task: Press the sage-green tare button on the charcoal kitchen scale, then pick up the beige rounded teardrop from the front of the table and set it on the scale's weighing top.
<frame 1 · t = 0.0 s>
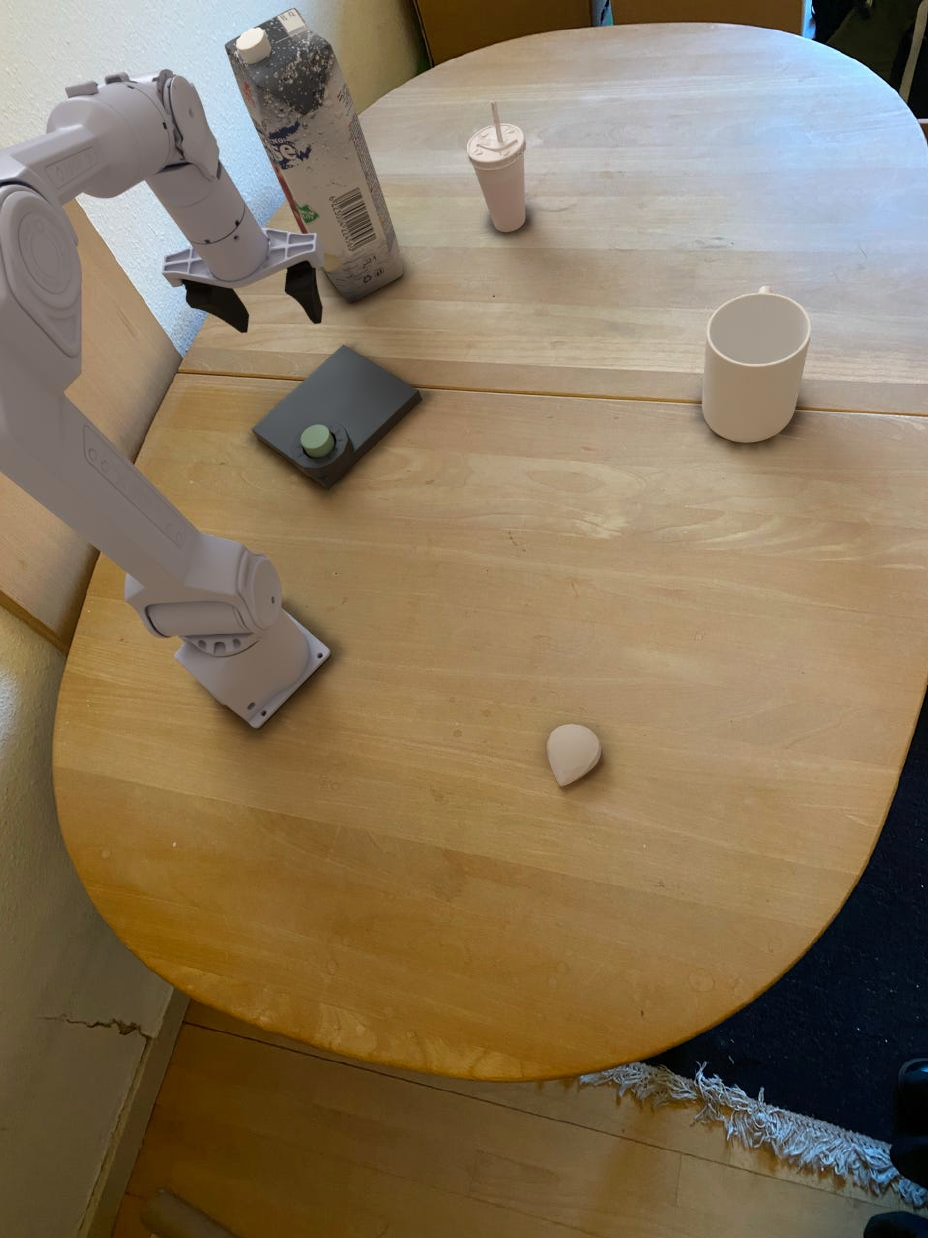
hand: (281, 319, 81), 11 cm above the table, tool pointing down, fingers open, 7 cm apart
beige rounded teardrop: (573, 761, 66), on the table
juice carton: (363, 272, 98), on the table
cup: (749, 395, 79), on the table
tare button: (317, 441, 83), point 3 cm above the table, slide at 0.1 cm
scale: (338, 418, 88), on the table
smoothie: (509, 222, 97), on the table
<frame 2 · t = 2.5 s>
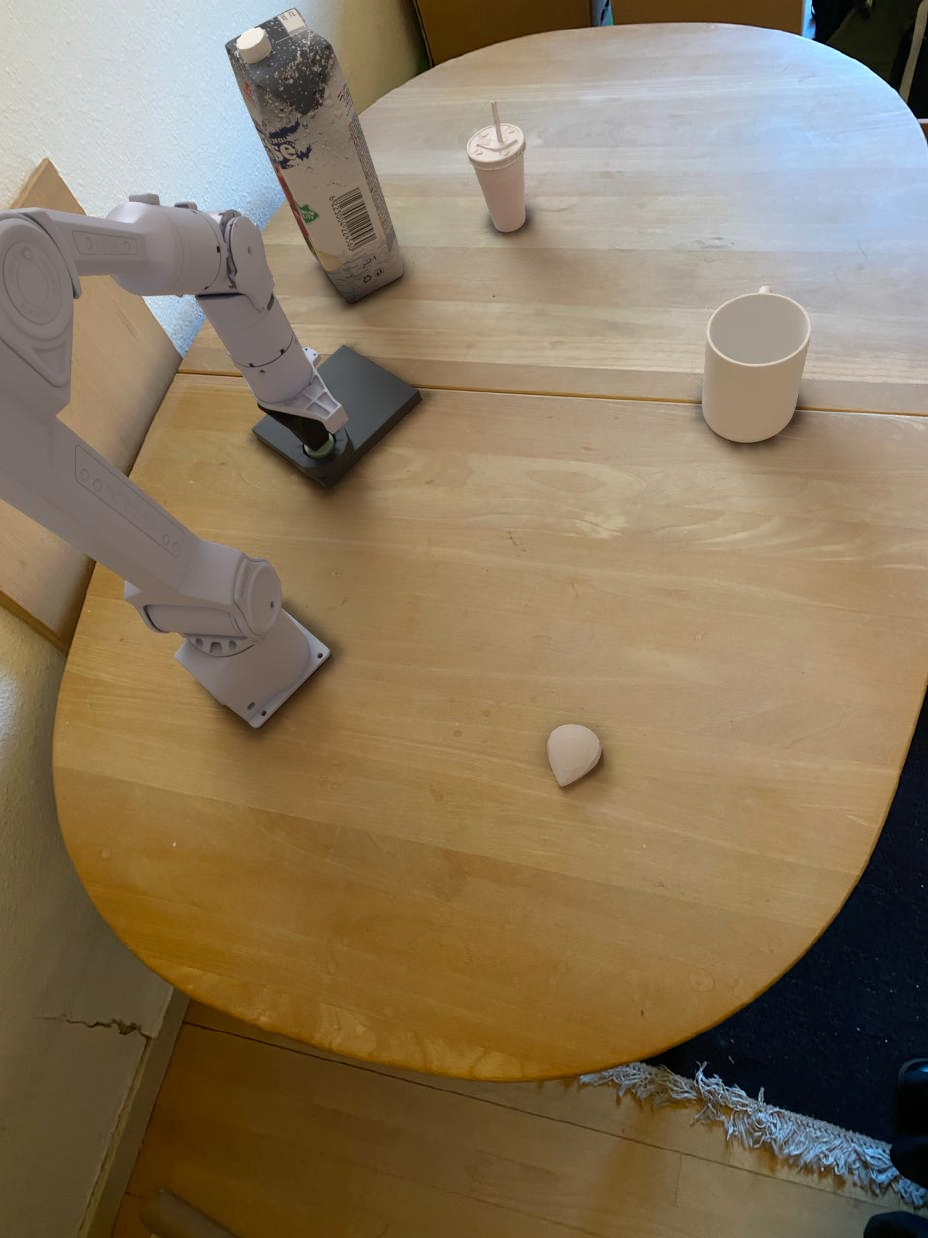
hand: (318, 442, 83), 3 cm above the table, tool pointing down, fingers closed, pressing on tare button
tare button: (321, 447, 83), point 2 cm above the table, slide at -0.9 cm, touching gripper
everything else where it was.
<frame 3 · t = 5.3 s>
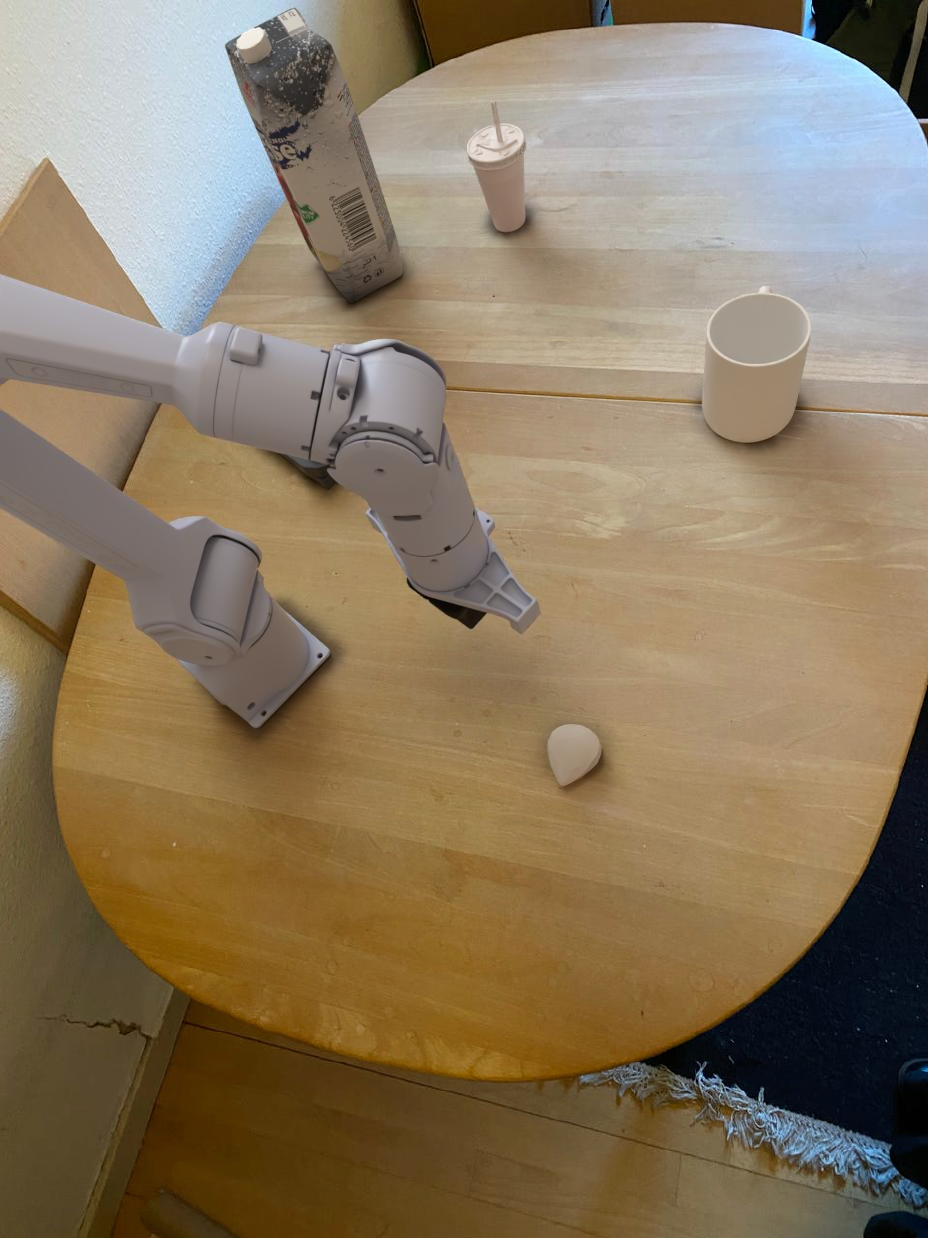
hand: (473, 615, 64), 9 cm above the table, tool pointing down, fingers closed
tare button: (317, 441, 83), point 3 cm above the table, slide at 0.1 cm
everything else where it was.
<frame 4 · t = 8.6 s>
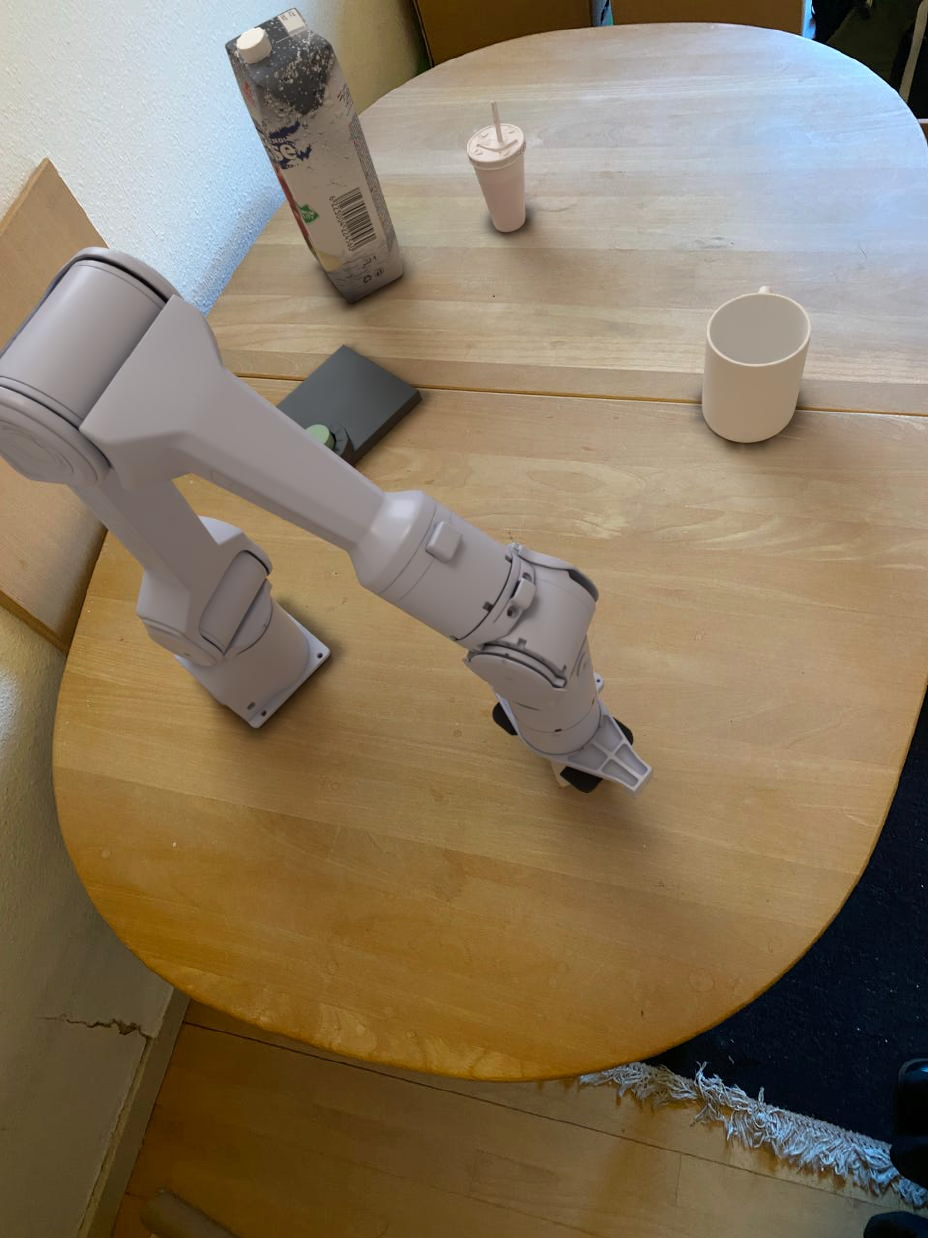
hand: (570, 755, 65), 1 cm above the table, tool pointing down, fingers closed on beige rounded teardrop, 4 cm apart
beige rounded teardrop: (574, 762, 66), on the table, touching gripper
everything else where it was.
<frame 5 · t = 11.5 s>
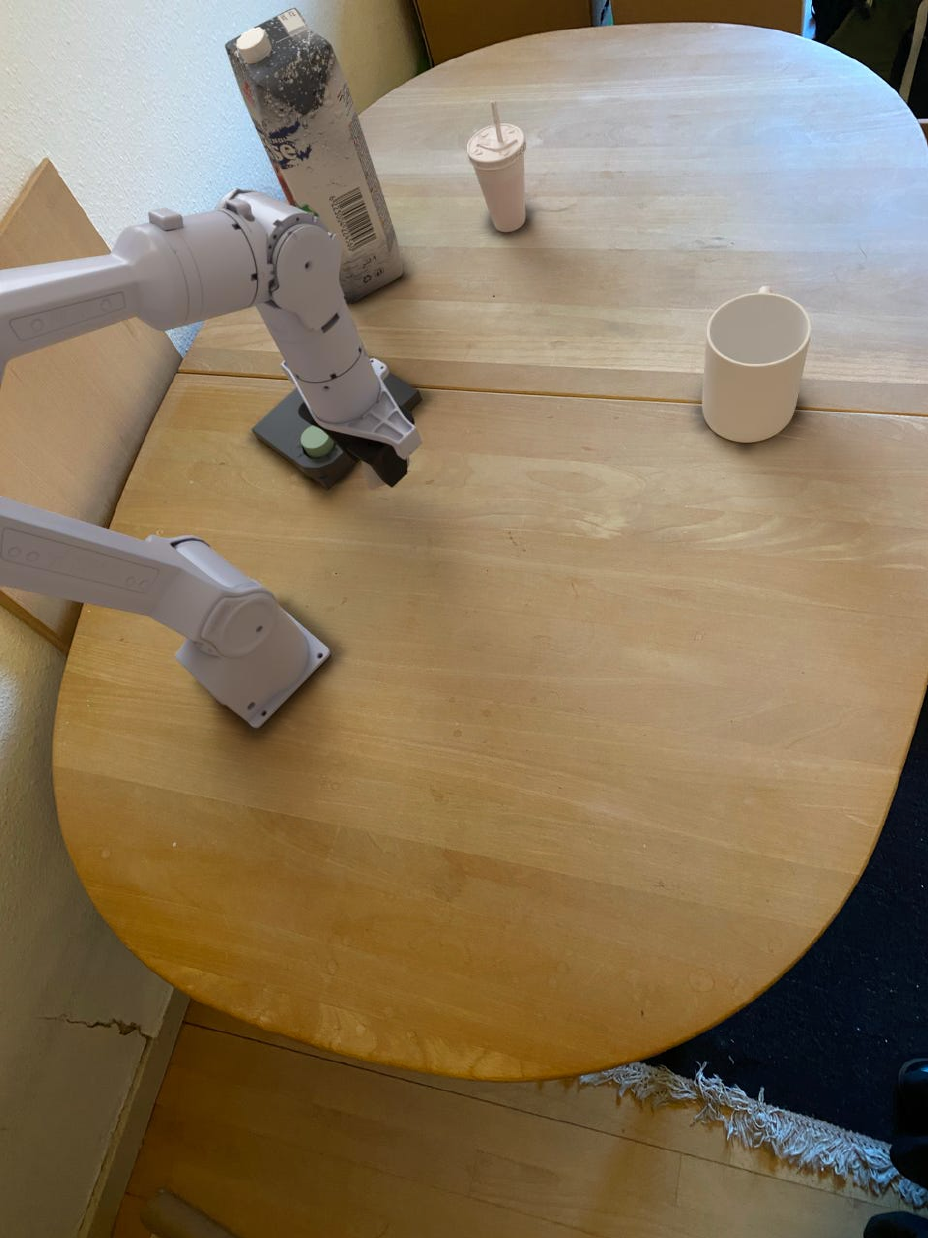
hand: (379, 465, 73), 8 cm above the table, tool pointing down, fingers closed on beige rounded teardrop, 4 cm apart
beige rounded teardrop: (387, 476, 74), point 7 cm above the table, touching gripper
everything else where it was.
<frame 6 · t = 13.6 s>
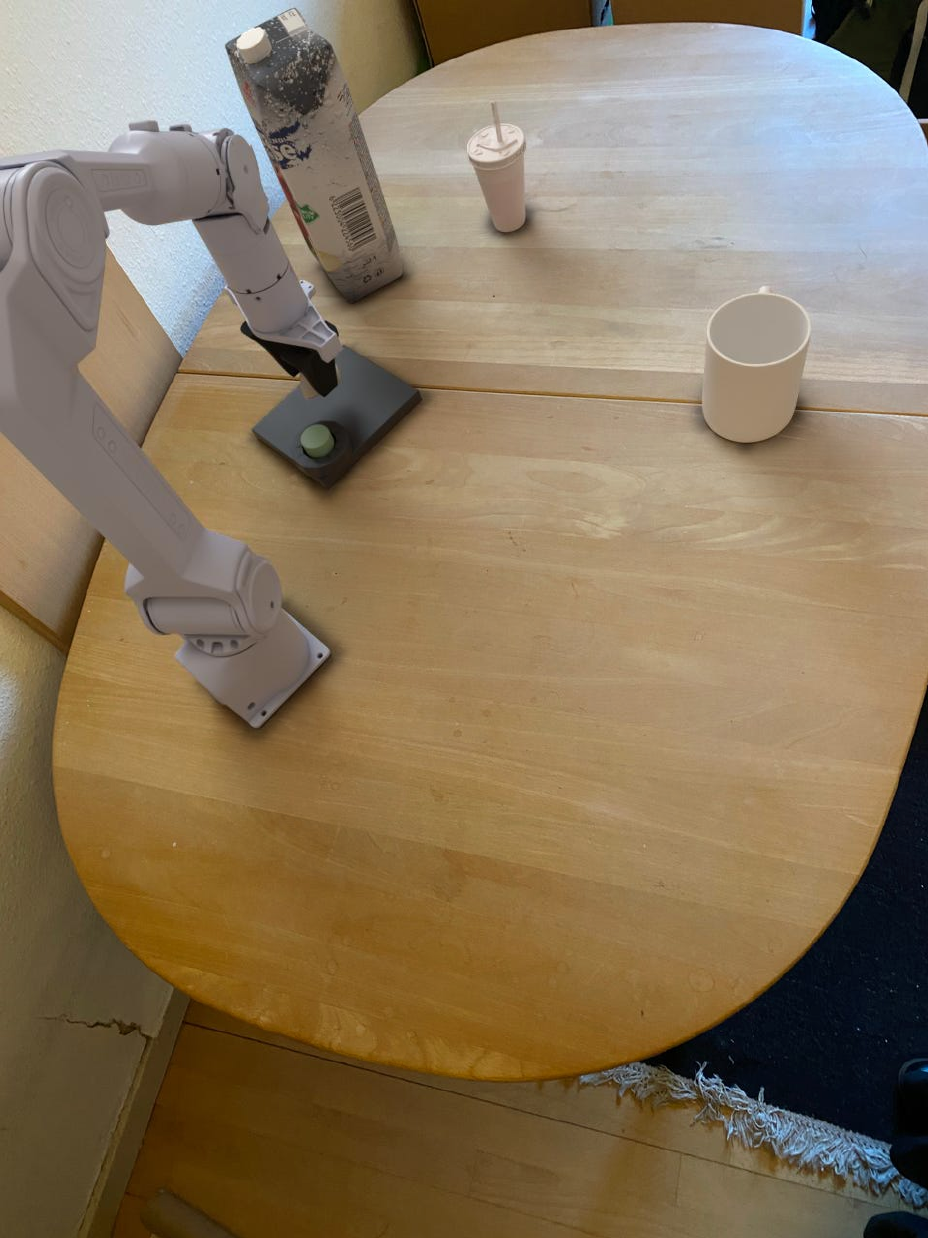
hand: (314, 379, 84), 5 cm above the table, tool pointing down, fingers closed on beige rounded teardrop, 4 cm apart
beige rounded teardrop: (322, 390, 85), point 4 cm above the table, touching gripper
everything else where it was.
when the fingers open (3 cm above the table, at t = 14.8 s): beige rounded teardrop stays where it is, resting on scale.
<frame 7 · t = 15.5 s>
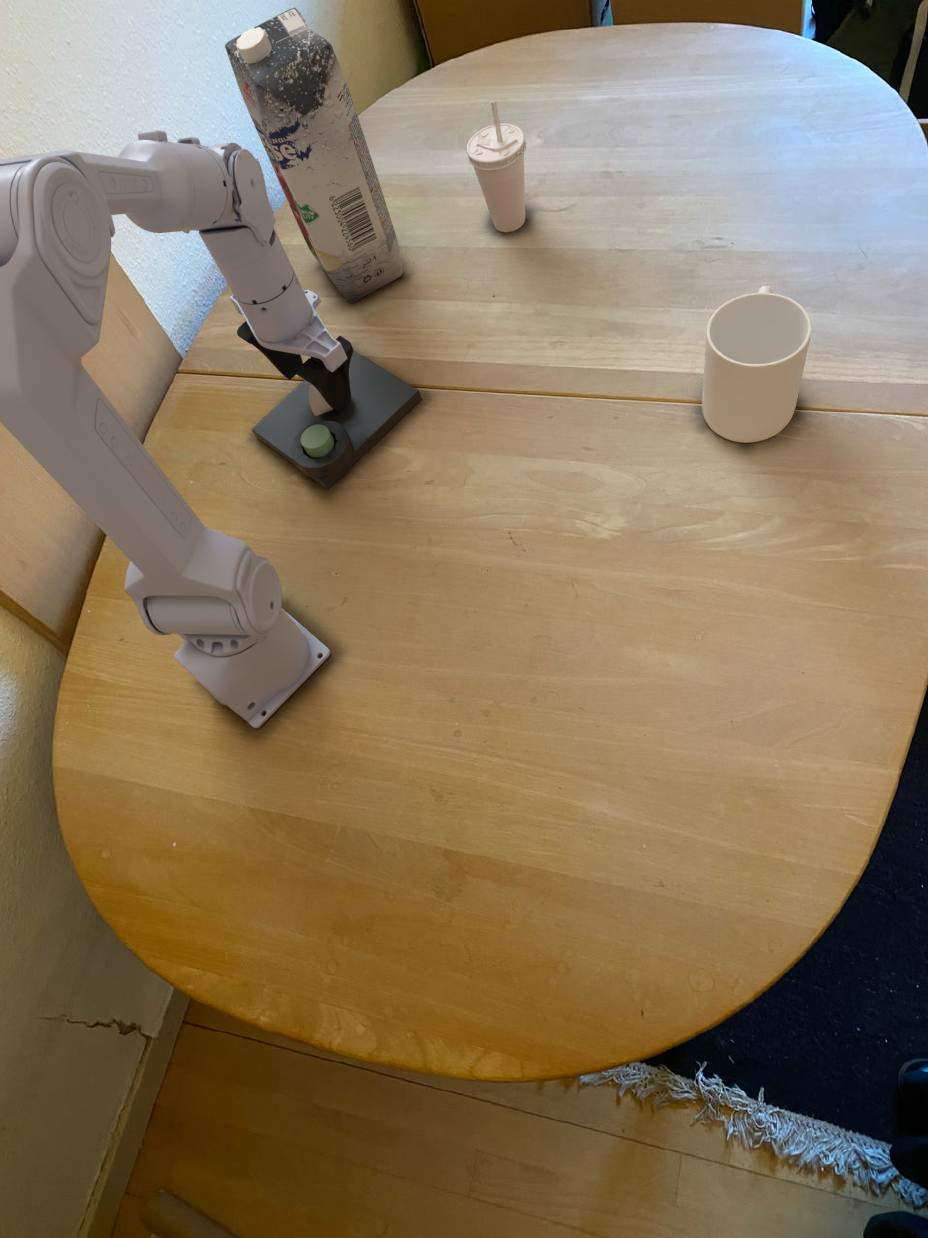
hand: (318, 387, 85), 4 cm above the table, tool pointing down, fingers open, 7 cm apart
beige rounded teardrop: (330, 406, 87), point 1 cm above the table, touching scale
everything else where it was.
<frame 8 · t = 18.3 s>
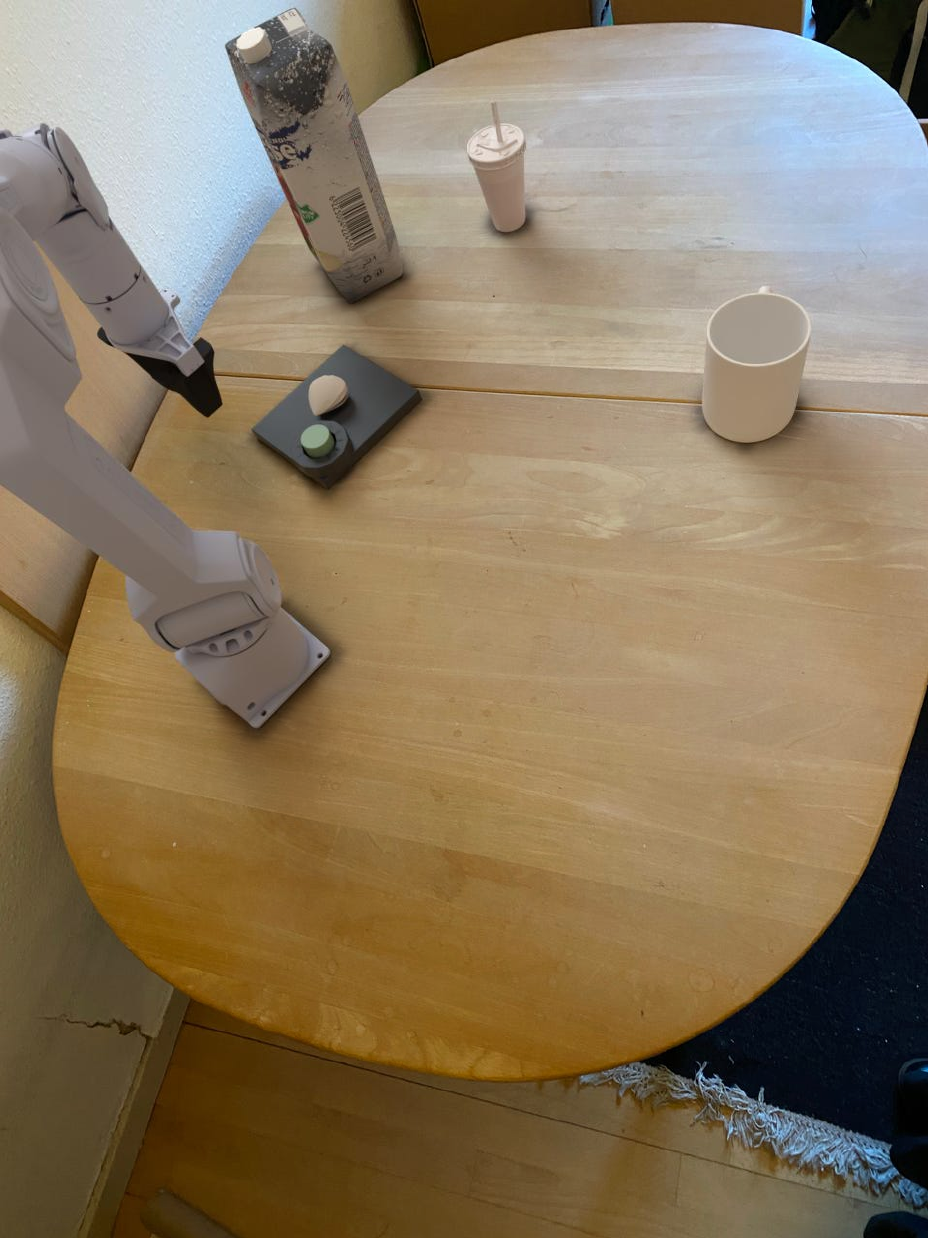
hand: (190, 392, 80), 10 cm above the table, tool pointing down, fingers open, 7 cm apart
nothing on the table moved.
at the end: tare button pushed in 1.0 cm at the most during the clip, back to where it started at the end; tare button slide at 0.1 cm; beige rounded teardrop inside the target area on the scale (0.8 cm from its centre), point 1.2 cm above the scale's base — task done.
